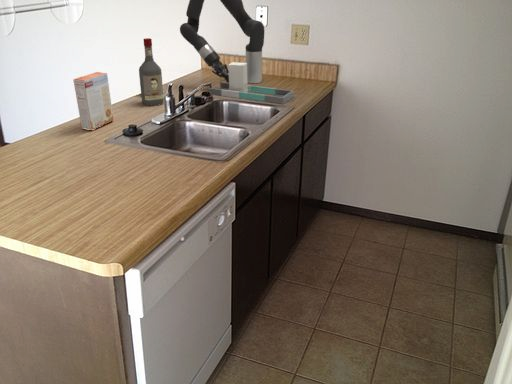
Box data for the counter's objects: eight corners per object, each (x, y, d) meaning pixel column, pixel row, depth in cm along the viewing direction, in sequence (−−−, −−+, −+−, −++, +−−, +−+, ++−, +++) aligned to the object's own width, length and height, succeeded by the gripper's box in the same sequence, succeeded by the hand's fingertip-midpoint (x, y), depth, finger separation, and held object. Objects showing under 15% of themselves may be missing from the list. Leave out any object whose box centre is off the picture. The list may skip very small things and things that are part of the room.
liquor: (140, 102, 230) (134, 38, 217) (158, 99, 235) (153, 36, 221) (146, 107, 223) (140, 41, 210) (165, 104, 228) (160, 39, 214)
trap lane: (221, 87, 259) (221, 81, 257) (294, 96, 244) (294, 90, 242) (207, 93, 246) (207, 88, 245) (283, 104, 231) (283, 98, 230)
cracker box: (102, 120, 205) (96, 71, 196) (114, 121, 203) (108, 72, 194) (80, 129, 193) (72, 78, 184) (92, 131, 191) (84, 79, 182)
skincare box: (247, 92, 249) (248, 62, 242) (243, 96, 243) (243, 65, 236) (233, 91, 251) (232, 61, 244) (228, 94, 246) (228, 63, 239)
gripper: (207, 52, 238) (228, 79, 239) (219, 48, 249) (240, 74, 250) (198, 62, 242) (219, 88, 243) (210, 57, 253) (231, 83, 254)
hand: (230, 81), depth 246 cm, fingers closed
